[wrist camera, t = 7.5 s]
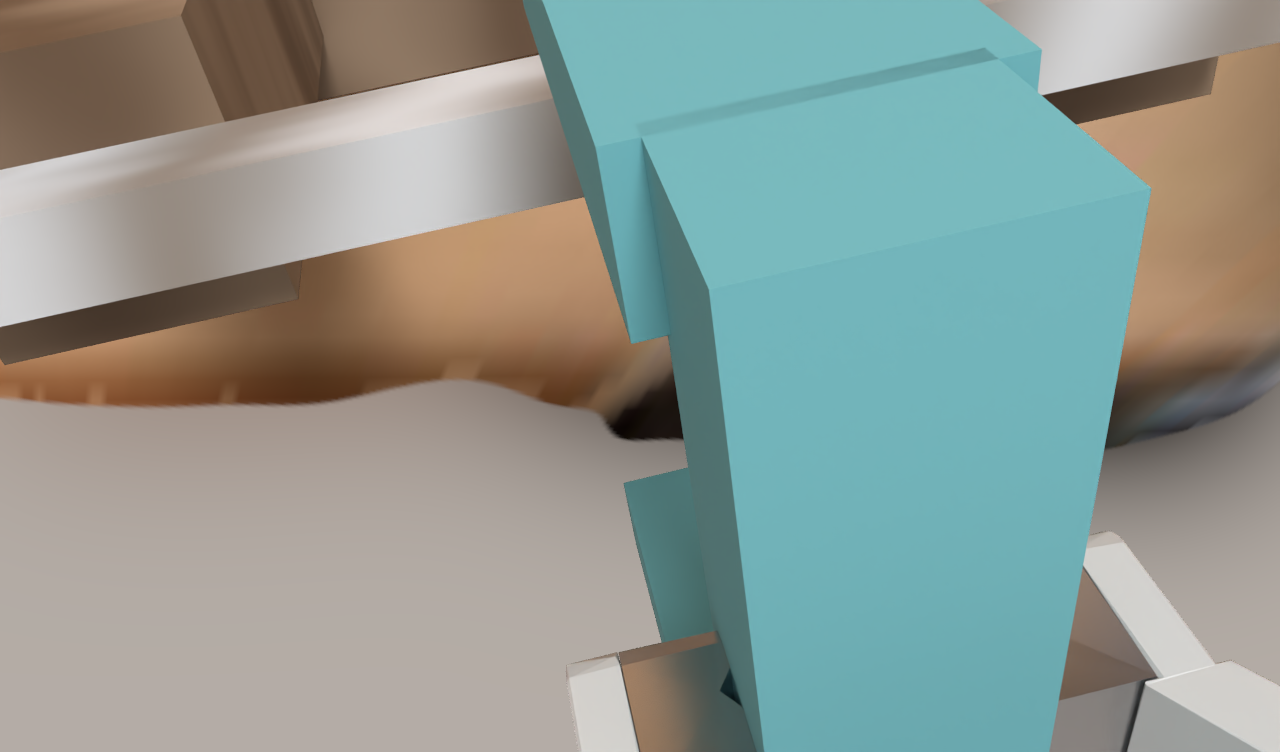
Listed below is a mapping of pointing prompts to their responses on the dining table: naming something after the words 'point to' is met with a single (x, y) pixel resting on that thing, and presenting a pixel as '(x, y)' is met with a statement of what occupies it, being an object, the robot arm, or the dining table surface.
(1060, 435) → the teal stepped bracket
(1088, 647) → the robot arm
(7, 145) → the shelf
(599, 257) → the dining table surface
